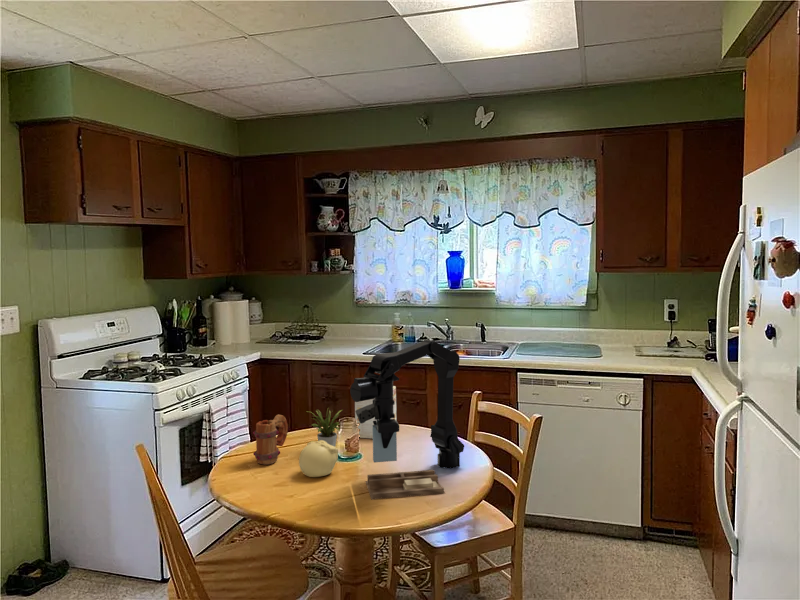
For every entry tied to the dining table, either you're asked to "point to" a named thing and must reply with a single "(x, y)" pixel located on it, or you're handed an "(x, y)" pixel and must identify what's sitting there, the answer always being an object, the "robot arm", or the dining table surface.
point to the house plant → (327, 428)
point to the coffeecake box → (367, 427)
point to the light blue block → (379, 451)
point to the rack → (400, 484)
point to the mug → (270, 439)
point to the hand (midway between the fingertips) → (384, 447)
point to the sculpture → (318, 458)
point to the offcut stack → (419, 484)
